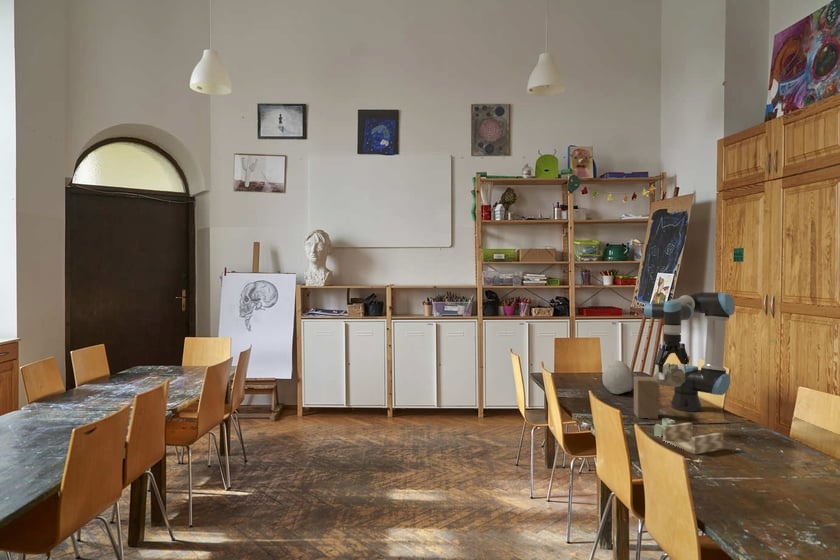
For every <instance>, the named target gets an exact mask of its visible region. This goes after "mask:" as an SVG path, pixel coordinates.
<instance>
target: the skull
mask: <svg viewBox="0 0 840 560" xmlns="http://www.w3.org/2000/svg"><path fill="white" fill-rule="evenodd" d="M601 377H602V379H601V380H602V384H603V386H604V387H605V388H606V389H607V390H608V391H609V392H610V393H612V394H615V395H621V394H624V393H627V392H631V391H632V387H633V376H632V370H631V368H630V367H629V366H628V365H627V363H625V362H624V361H622V360H615V361H611V362H610V363H609V364H608V365H607V366H606V367H605V368H604V370H603V372H602V375H601Z"/></svg>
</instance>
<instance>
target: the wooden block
mask: <svg viewBox="0 0 840 560" xmlns="http://www.w3.org/2000/svg"><path fill="white" fill-rule="evenodd" d="M652 377H653V376H639V375H638V376H637V375H636V376H633V414H634V415H635V416H636V418H637V419H643V418H648V419H647V420H658V419H659V384H655V383H653V382H652V380H651V379H652Z"/></svg>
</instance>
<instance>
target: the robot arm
mask: <svg viewBox="0 0 840 560" xmlns="http://www.w3.org/2000/svg"><path fill="white" fill-rule="evenodd" d="M735 304H736V303H735V301H734V299H733V296H732V295H731V294H730V293H728V292H710V291H709V292H705V291H700V292H692V293H688V294H685V295H681V296H679V298H676V299H675V298H674V299H670V300H666V301H662V302H656V303H654V302H651V303H650V302H649V303H646V304H645V305H644V307H643V309H644V310H643V312H644V316H645V317H646V318H650V319H661V320H663V333H664V334H663V341H664V344H659V345H658V346H659V347H658V351H657V355H656V358H655V360H654V364H655V365H656V366H657V369H658V371H657V373H658V372H659V379H661V380H665V366H664V365H665V364H666V361H667V360H668V358H669V357H670V355H671V354H675V356H676V358H677V359H678V362H679V363H678V369H682V370H683V372H684V374H685V376H684V377H685V378H686V380H685V382H684V383H682V385H681V386H679V387H674V386H673V387H674V392H673V396H672V400H671V402H670V407H671V408H672V409H673V410H674V409H675V410H677V411H683V412H692V413H693V412H701V411H702V409H703V406H702V404H701V401H700V398H699V392H700V393H705V394H711V395H714V396H715V395H717V396H723V395H725V394H726V393H727V392H728V390H729V388H730V385H731V377H730V375H729V374H728V373H727V369H726V368H725V367H724V359H725V358H724V357H725V356H724V355H725V339H726V329H727V327H726V326H727V325H726V324H727V322H728V320H730V316H732V315H734V314H735V310H736V309H735V308H736V305H735ZM695 313H696V314H704V318H705V319H706V321H707V322H706V323H707V324H706V340H705V352H704V354H705V355H704V364H703V365H701V366H700V369H699V367H698V366H696V365H688V364H689V362H690V359H689V356H688V353H687V350H686V344H685V343H682V335H681V333H682V321H687V320H690V319H692V318H693V316H694V315H695Z"/></svg>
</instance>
